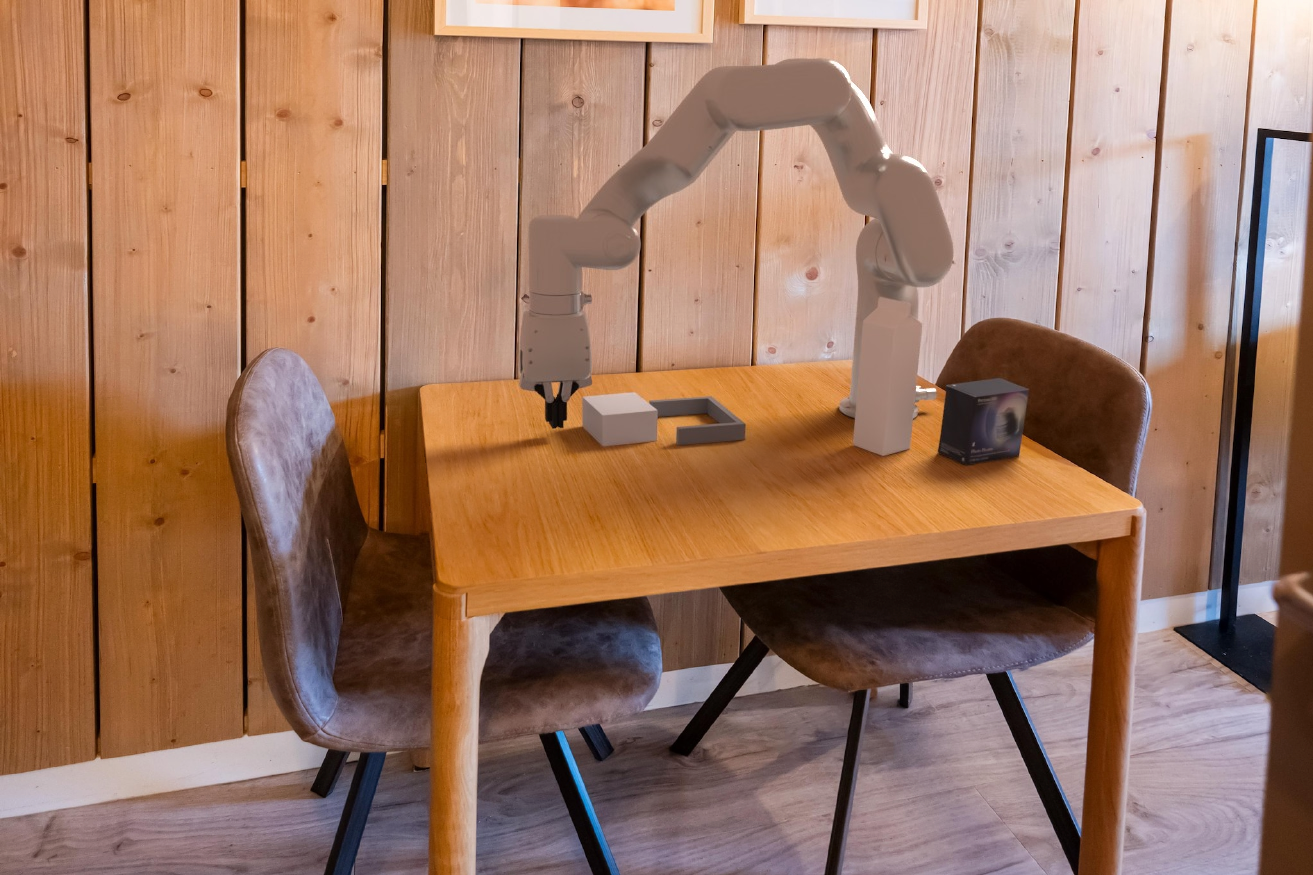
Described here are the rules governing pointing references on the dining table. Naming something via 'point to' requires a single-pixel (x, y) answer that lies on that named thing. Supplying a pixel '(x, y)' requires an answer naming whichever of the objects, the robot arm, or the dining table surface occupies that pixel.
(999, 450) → the small box
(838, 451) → the dining table surface
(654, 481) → the dining table surface
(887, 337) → the milk
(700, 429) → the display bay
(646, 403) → the carton
